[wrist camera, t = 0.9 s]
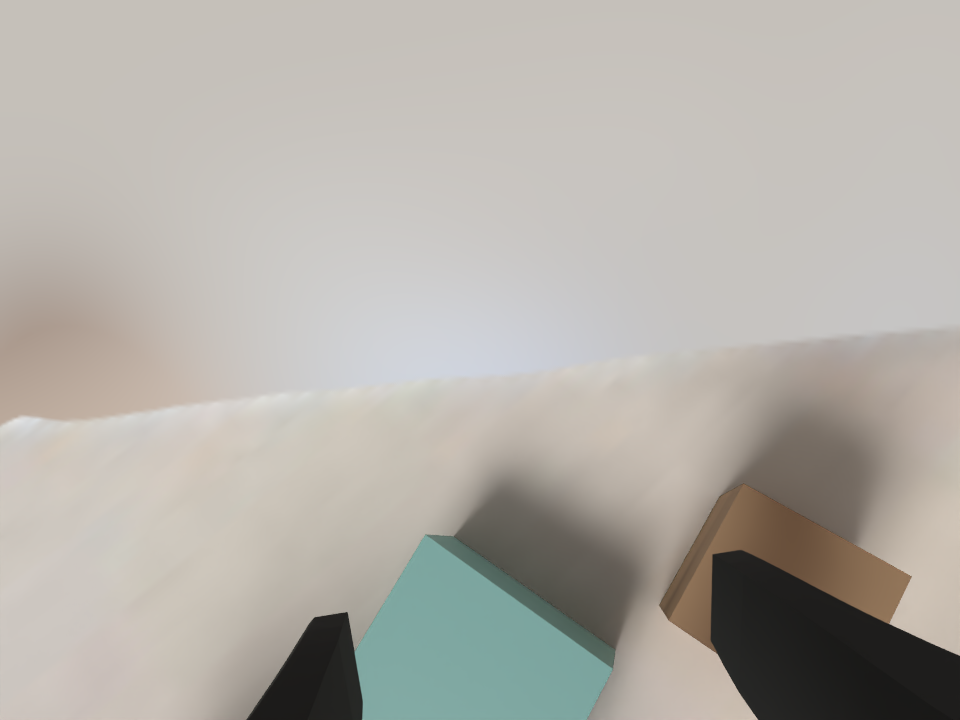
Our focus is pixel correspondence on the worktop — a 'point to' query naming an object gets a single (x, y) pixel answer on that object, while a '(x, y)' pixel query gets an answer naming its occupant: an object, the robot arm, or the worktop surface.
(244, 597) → the worktop surface
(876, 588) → the walnut cube
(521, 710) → the teal base block
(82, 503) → the worktop surface
